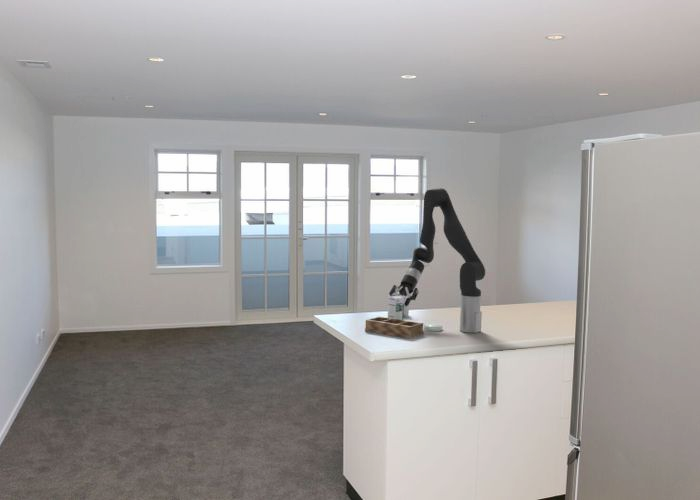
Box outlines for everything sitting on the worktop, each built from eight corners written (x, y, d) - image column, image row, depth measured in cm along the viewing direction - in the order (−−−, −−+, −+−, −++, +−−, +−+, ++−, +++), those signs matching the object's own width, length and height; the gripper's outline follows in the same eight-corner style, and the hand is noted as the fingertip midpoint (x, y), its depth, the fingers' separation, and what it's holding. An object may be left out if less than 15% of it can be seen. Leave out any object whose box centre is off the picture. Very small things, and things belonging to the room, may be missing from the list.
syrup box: (394, 327, 326) (395, 297, 325) (386, 325, 331) (387, 296, 330) (403, 326, 330) (404, 297, 328) (395, 324, 334) (396, 295, 333)
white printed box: (390, 313, 365) (391, 290, 364) (396, 312, 368) (397, 290, 367) (403, 316, 357) (404, 293, 356) (409, 315, 360) (410, 292, 359)
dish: (445, 329, 326) (445, 325, 325) (436, 332, 318) (437, 328, 318) (429, 327, 331) (429, 323, 331) (420, 330, 323) (420, 325, 323)
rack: (423, 334, 313) (423, 323, 312) (408, 338, 302) (409, 327, 302) (380, 327, 327) (380, 316, 326) (364, 331, 316) (365, 320, 316)
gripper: (396, 272, 341) (383, 297, 333) (420, 275, 333) (407, 301, 325) (401, 282, 346) (388, 307, 338) (425, 285, 338) (413, 310, 329)
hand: (398, 304), depth 331 cm, fingers open, 8 cm apart
